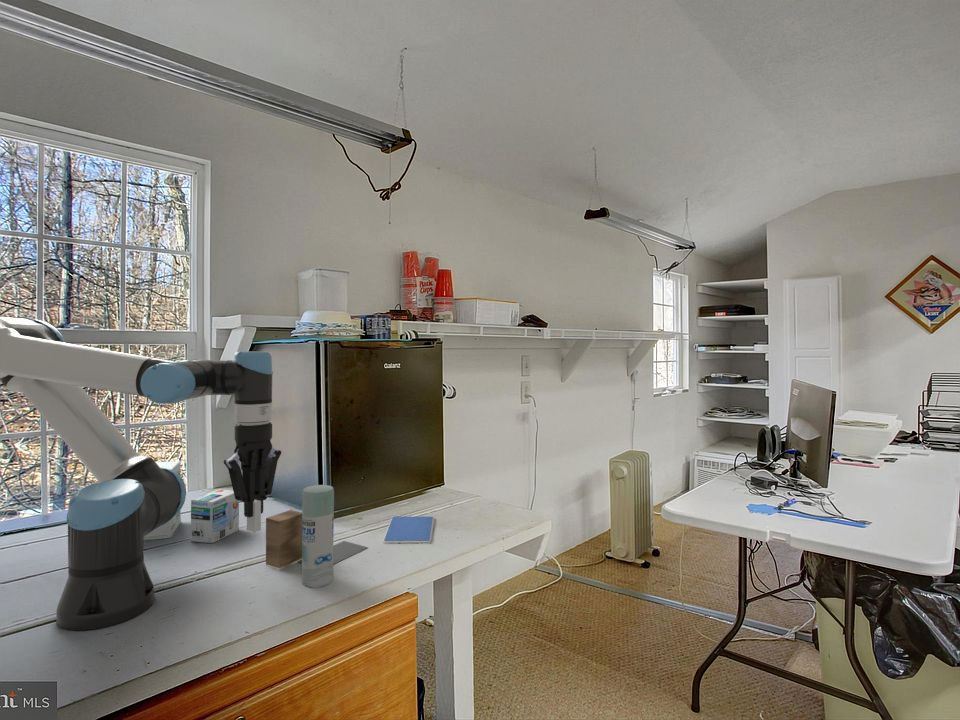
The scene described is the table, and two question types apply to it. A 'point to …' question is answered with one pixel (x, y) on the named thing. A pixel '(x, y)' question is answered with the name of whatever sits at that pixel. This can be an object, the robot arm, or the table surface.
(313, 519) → the spray paint can
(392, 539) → the tablet computer
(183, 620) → the table surface
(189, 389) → the robot arm
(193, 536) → the light bulb box
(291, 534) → the walnut block
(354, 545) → the mat
